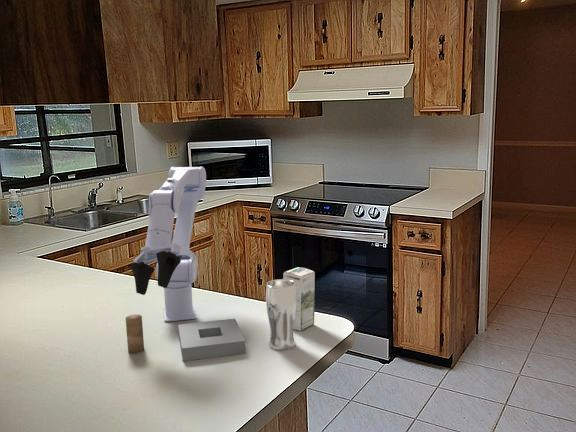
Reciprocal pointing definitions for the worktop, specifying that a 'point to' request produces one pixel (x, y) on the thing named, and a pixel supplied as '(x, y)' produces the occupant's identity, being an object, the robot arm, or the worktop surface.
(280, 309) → the beer glass
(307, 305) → the syrup box
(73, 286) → the worktop surface
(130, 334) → the dowel
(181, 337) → the socket block
